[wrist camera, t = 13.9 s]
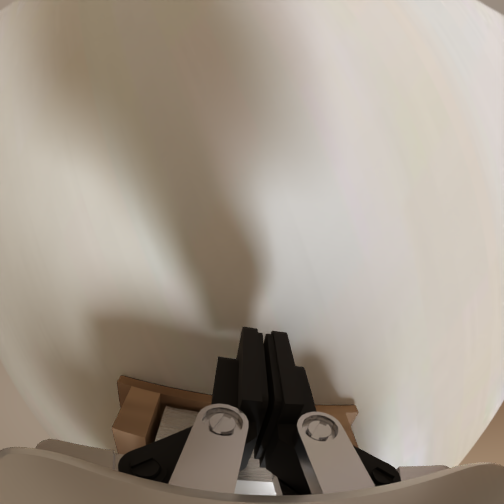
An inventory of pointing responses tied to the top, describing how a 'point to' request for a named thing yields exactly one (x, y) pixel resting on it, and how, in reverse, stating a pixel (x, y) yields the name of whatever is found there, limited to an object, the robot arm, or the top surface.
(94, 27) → the top surface
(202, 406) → the holder
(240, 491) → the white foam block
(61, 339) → the top surface
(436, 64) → the top surface
